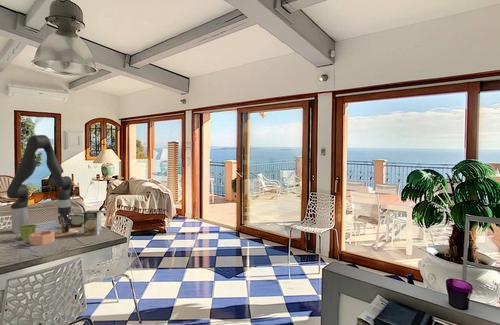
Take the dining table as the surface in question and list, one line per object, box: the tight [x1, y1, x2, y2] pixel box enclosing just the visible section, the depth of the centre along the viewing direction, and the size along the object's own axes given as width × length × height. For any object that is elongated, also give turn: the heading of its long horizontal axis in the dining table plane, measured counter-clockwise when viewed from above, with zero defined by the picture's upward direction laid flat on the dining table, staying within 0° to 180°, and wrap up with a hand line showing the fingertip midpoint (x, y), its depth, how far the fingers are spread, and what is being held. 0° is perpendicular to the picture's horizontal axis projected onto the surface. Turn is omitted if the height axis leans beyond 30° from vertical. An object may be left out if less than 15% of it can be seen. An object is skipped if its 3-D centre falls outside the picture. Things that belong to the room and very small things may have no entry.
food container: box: [69, 212, 84, 228], centre depth 222 cm, size 12×6×10 cm, turn 84°
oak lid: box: [54, 224, 79, 237], centre depth 200 cm, size 15×15×7 cm
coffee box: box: [83, 210, 102, 236], centre depth 201 cm, size 9×6×16 cm
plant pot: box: [19, 224, 38, 241], centre depth 191 cm, size 9×9×9 cm
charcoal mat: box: [55, 230, 84, 241], centre depth 200 cm, size 17×17×1 cm
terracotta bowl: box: [28, 230, 56, 246], centre depth 184 cm, size 12×12×6 cm
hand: (65, 231), depth 200 cm, fingers closed on oak lid, 3 cm apart
